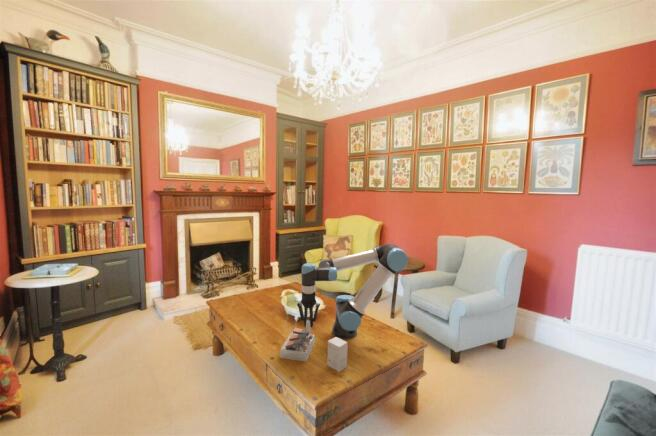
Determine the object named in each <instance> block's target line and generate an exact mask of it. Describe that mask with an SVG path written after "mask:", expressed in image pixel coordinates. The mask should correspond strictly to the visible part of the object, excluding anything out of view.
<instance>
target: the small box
mask: <svg viewBox="0 0 656 436" xmlns="http://www.w3.org/2000/svg"><path fill="white" fill-rule="evenodd" d="M348 344H349V343H348V341H346V340H344V339H343V338H339V337H336V336H335V337H332V338H331V339H329V340H327V357H326V358H327V360H326V362H327V364H326V365H327V366H328V367H330V368H331V369H333V370H335V371H337V372H339V373H340V372H342V371H343V370H344V369H346V368H347V367H348Z"/></svg>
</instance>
